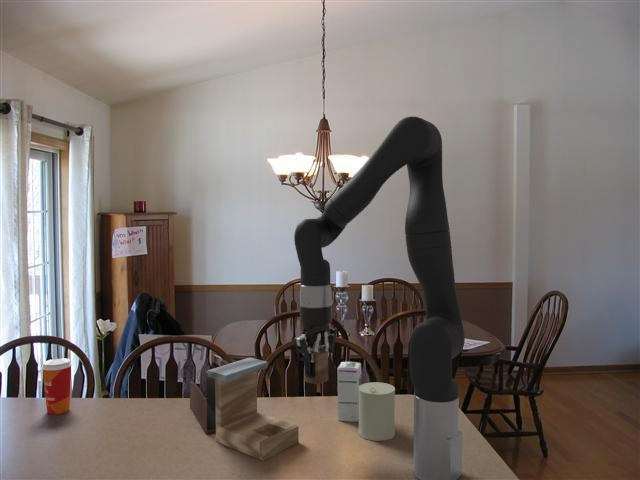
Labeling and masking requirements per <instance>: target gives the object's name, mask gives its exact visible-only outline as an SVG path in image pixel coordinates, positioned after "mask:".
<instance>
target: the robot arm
mask: <svg viewBox="0 0 640 480" xmlns="http://www.w3.org/2000/svg"><path fill="white" fill-rule="evenodd" d="M391 128H392V129H390V131H389V133H388V134H387V135H386V136H385V137H384V138H383V140H382V141H381V143H380V144H379V145H378V146H377V148H376V149H375V150H374V152H373V153H372V155H371V156H370V157H369V158H368V159H367V160H366V161H365V163H363V165H362V166H361V168H360V169H359V170H358V171H357V172H356V173H355V174H354V175H353V176H352V177H351V178H350V179H349V180H348V181H347V182H346V183H345V184H344V185H343V186H342V187H341V188H339V189H338V190H337V191H336V192H335V193H334V194H333V195H332V196H331V197H330V198H329V199H328V200H327V202H326V203H325V204H324V211H323V212H322V213H321V215H319V216H318V217H317V218H305V219H303V220H301V221H300V222H299V223H298V224H297V225H296V227H295V230H294V237H293V239H294V246H295V251H296V255H297V258H298V262H299V266H300V288H299V289H300V290H299V321H300V322H299V323H300V324H301V325H302V326H303V327H302V332H301V335H300V336H299V337H297V336H295V337H294V338H293V343H294V346H295V347H294V348H295V351H296V354H297V355H296V356H297V358H298V361H302V362H305V372H304V375H305V374H306V377H308V378H314V377H315V362H314V361H315V354H316V353H317V352H318V350H323V351H328V358H329V356H330V354H333V353H334V349H335V343H336V338H337V333H338V329H337V328H333V327H330V324H331V323H332V322H333V312H332V311H333V308H332V306H333V305H332V304H333V303H332V301H333V297H332V296H333V294H332V287H331V264H330V262H329V261H328V260H327V259H324V256H323V250H322V248H326V247H328V246H330V245H331V244H332V243H333V242H334V241H335V240H336V239H337V238H338V237H339V236H340V235H341V234H342V232H343V231H344V230H345V228H346V226H348V224H349V223H350V222H352V221H353V220H354V219H355V218H356V217H358V216H359V215H360V214H361V213H362V212H363V211H364V210H365V209H366V208H367V207H368V206H369V205H370V204H371V202H372V201H373V199H375V197H376V196H377V194H378V193H379V191H380V190H381V188H382V187H383V185H384V184H385V183H386V182H387V181H388V180H389V179H390V177H392V176H393V175H395V173H397V172H398V171H399V170H400V169H402V168H403V167H405V166H406V168H407V169H406V170H407V174H408V175H407V176H408V181H409V197H408V203H407V207H406V212H405V213H406V214H405V221H404V235H405V244H406V251H407V252H406V253H407V257H408V261H409V264H410V266H411V268H412V270H413V273H414V275H415V277H416V279H417V282H418V283H419V285H420V288H421V290H422V294H423V298H424V309H425V321H423V322H420V323H418V324H417V325H415V326H414V328H413V329H412V332H411V334H410V338H409V339H410V340H409V373H410V374H409V375H410V380H411V383H412V386H413V464H412V465H413V474H414V476H415V478H417V479H418V480H458V479H459V478H460V477H461V476H462V475H463V474H462V472H463V471H462V470H463V468H462V467H463V431H462V430H459V423H460V422H459V416H460V415H459V409H460V408H459V406H460V405H459V402H460V385H459V383H458V381H457V380H456V379H454V378H453V362H452V360H453V359H454V358H456V357H457V356H458V355H460V353H461V352H462V350H463V349H464V345H465V340H466V338H465V337H466V336H465V331H464V330H465V329H464V325H463V319H462V316H461V312H460V307H459V302H458V297H457V291H456V289H457V288H456V280H455V270H454V261H453V250H452V249H453V246H452V240H451V231H450V224H449V217H448V209H447V208H448V207H447V201H446V196H445V191H444V182H443V180H444V179H443V139H442V135H441V133H440V131H439V129H438V127H437V126H436V125H435V124H433V123H432V122H430V121H428V120H425V119H424V118H421V117H419V116H406V117H404V118H402V119H401V120H399V121H398V122H396V123H395V125H394V126H393V127H391ZM309 352H311V357H309Z"/></svg>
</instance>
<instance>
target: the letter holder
mask: <svg viewBox="0 0 640 480" xmlns="http://www.w3.org/2000/svg"><path fill="white" fill-rule="evenodd" d="M219 364H220V366H223V365H227V364H230V363H229V362H228V361H227V360H225V359H223V358H222V359H220V362H219ZM220 366H219V367H220ZM189 384H190V385H189V386H190V388H189V396H190V397H189V401H190V402H189V408H190V410H191V411H192V413H193V414H194V416H195V418H196V420H197V421H198V423H199V425H200V426H201V428H202V430H203V431H204V433H205V434H206V435H210V434H214V433H215V434H216V405H215V379H214V378H211V377H208V370H206V371H205V394H204V393H203V391H202V390H201V389H200V387H199V386H198V385H197V384H196V383H195V382H193V381H191V382H190V383H189Z"/></svg>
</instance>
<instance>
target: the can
mask: <svg viewBox="0 0 640 480" xmlns="http://www.w3.org/2000/svg"><path fill="white" fill-rule="evenodd" d="M358 389H359V422H358V431H357V432H358V435H359V436H360V437H361V438H363V439H364V440H368V441H374V442H383V441H388V440H391V439H393V438H394V437H395V435H396V430H395V429H396V428H395V419H396V418H395V417H396V416H395V415H396V414H395V408H396V407H395V405H396V403H395V402H396V401H395V398H396V397H395V396H396V388H395V386H393V385H392V384H390V383H385V382H379V381H376V382H374V381H373V382H372V381H371V382H365V383H361V385H360V386H359V388H358Z"/></svg>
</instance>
